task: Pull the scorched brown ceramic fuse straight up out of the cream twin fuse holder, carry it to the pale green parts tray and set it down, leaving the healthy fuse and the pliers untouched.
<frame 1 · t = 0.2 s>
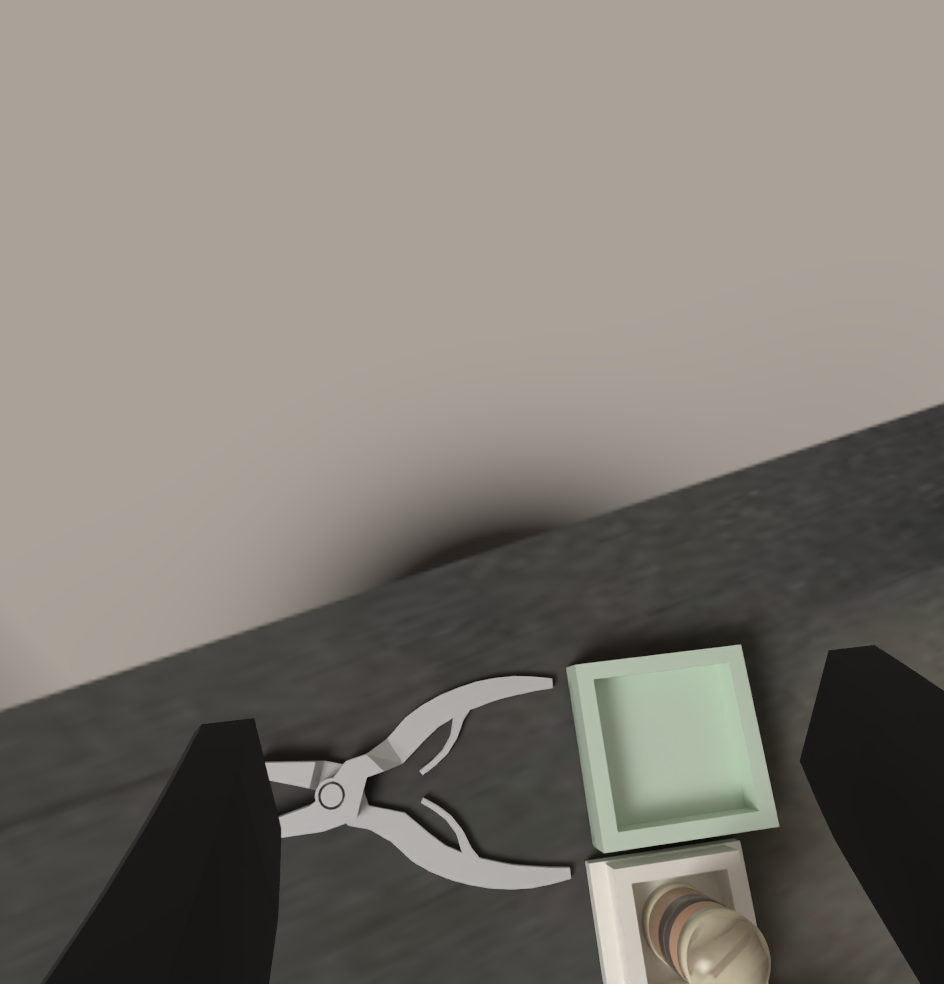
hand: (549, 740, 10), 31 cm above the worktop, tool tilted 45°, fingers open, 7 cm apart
pliers: (409, 786, 39), on the worktop
parts tray: (661, 743, 40), on the worktop
blown fuse: (677, 922, 37), point 1 cm above the worktop, touching fuse holder
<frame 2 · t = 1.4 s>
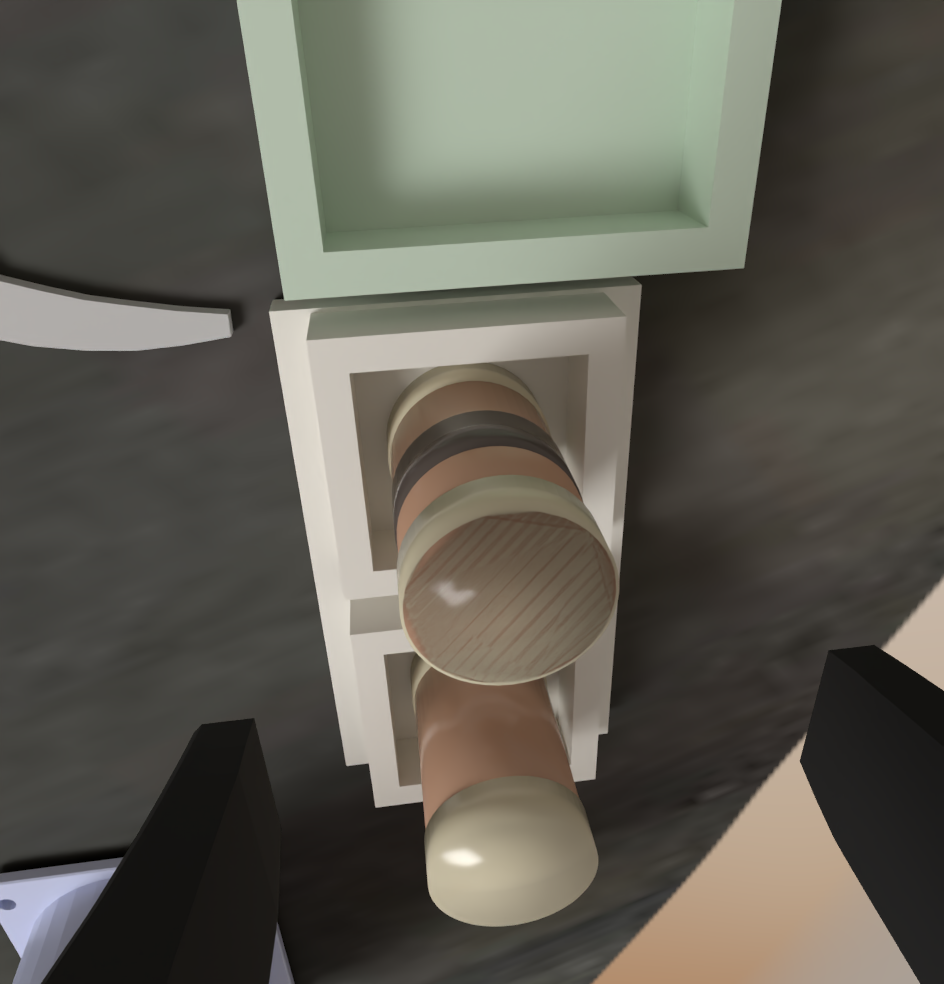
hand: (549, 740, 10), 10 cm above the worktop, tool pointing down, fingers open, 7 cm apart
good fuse: (475, 669, 21), point 1 cm above the worktop, touching fuse holder
fuse holder: (466, 544, 20), on the worktop
parts tray: (497, 13, 14), on the worktop
blown fuse: (465, 435, 17), point 1 cm above the worktop, touching fuse holder
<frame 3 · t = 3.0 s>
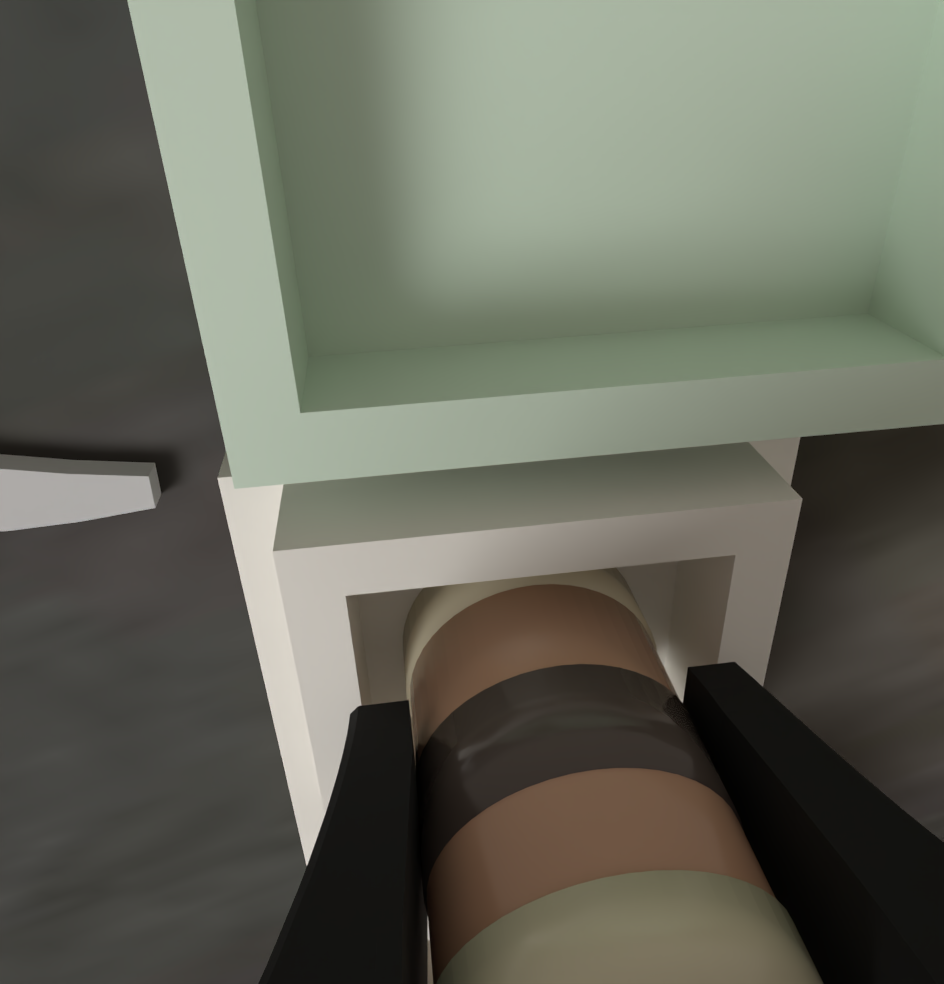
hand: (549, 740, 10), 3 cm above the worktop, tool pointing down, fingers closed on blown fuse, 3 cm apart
fuse holder: (513, 755, 14), on the worktop
blown fuse: (520, 635, 12), point 1 cm above the worktop, touching fuse holder, gripper
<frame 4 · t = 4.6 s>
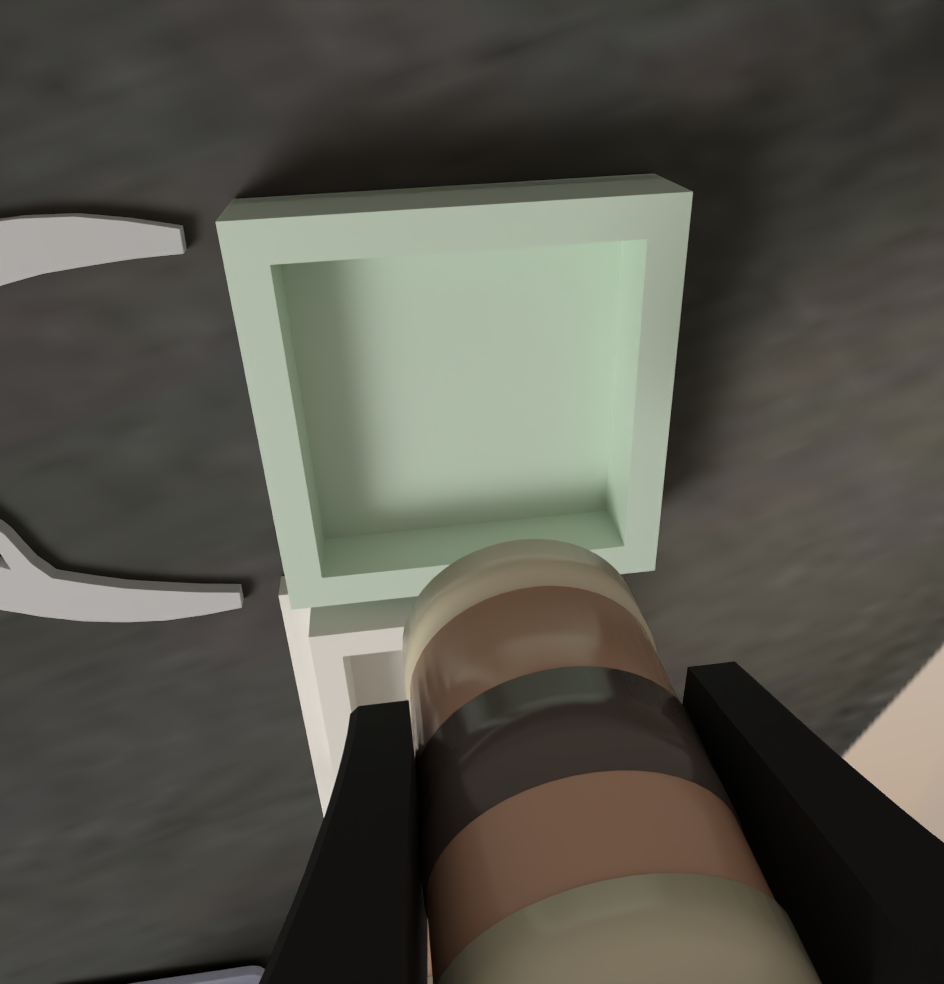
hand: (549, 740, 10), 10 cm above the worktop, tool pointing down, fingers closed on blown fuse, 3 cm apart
fuse holder: (442, 738, 24), on the worktop
parts tray: (458, 383, 18), on the worktop
blown fuse: (520, 637, 12), point 8 cm above the worktop, touching gripper
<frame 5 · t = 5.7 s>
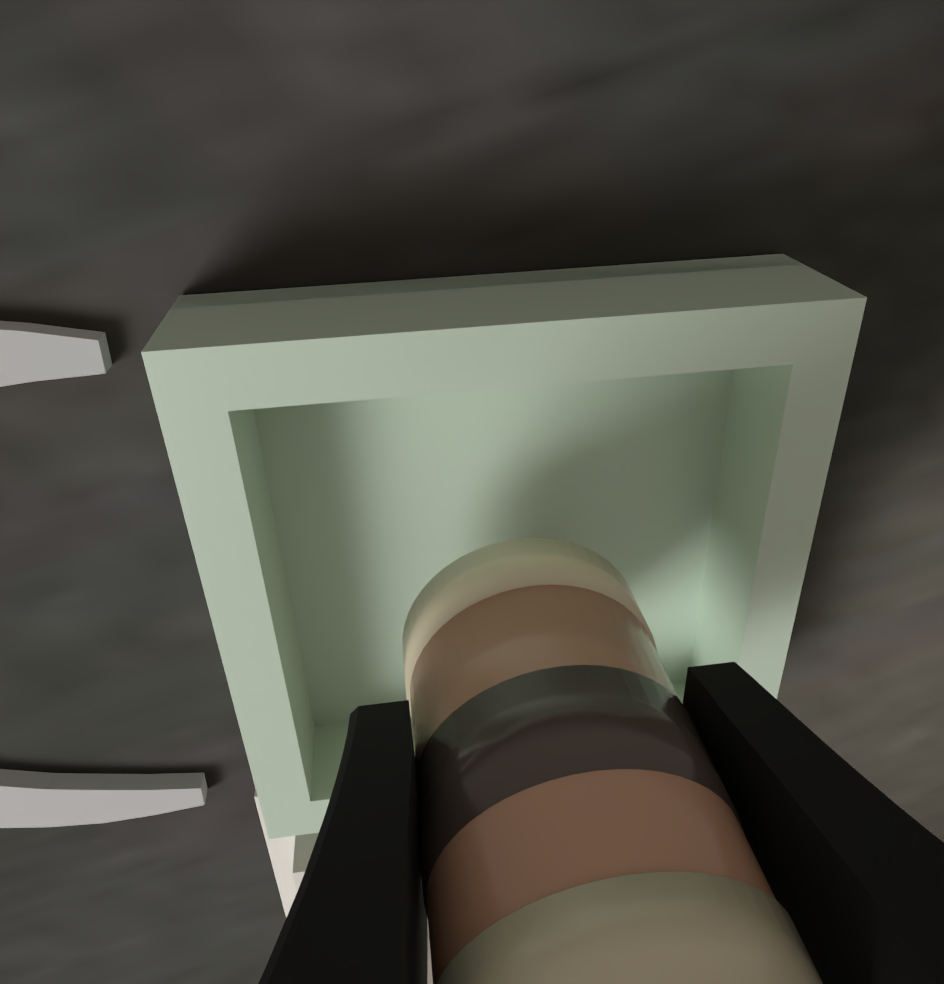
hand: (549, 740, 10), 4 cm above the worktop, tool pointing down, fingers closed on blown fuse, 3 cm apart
fuse holder: (465, 929, 19), on the worktop
parts tray: (497, 528, 13), on the worktop
blown fuse: (520, 636, 12), point 2 cm above the worktop, touching gripper
when the fingers open (4 cm above the worktop, at t = 6.5 s): blown fuse drops 1 cm, resting on parts tray.
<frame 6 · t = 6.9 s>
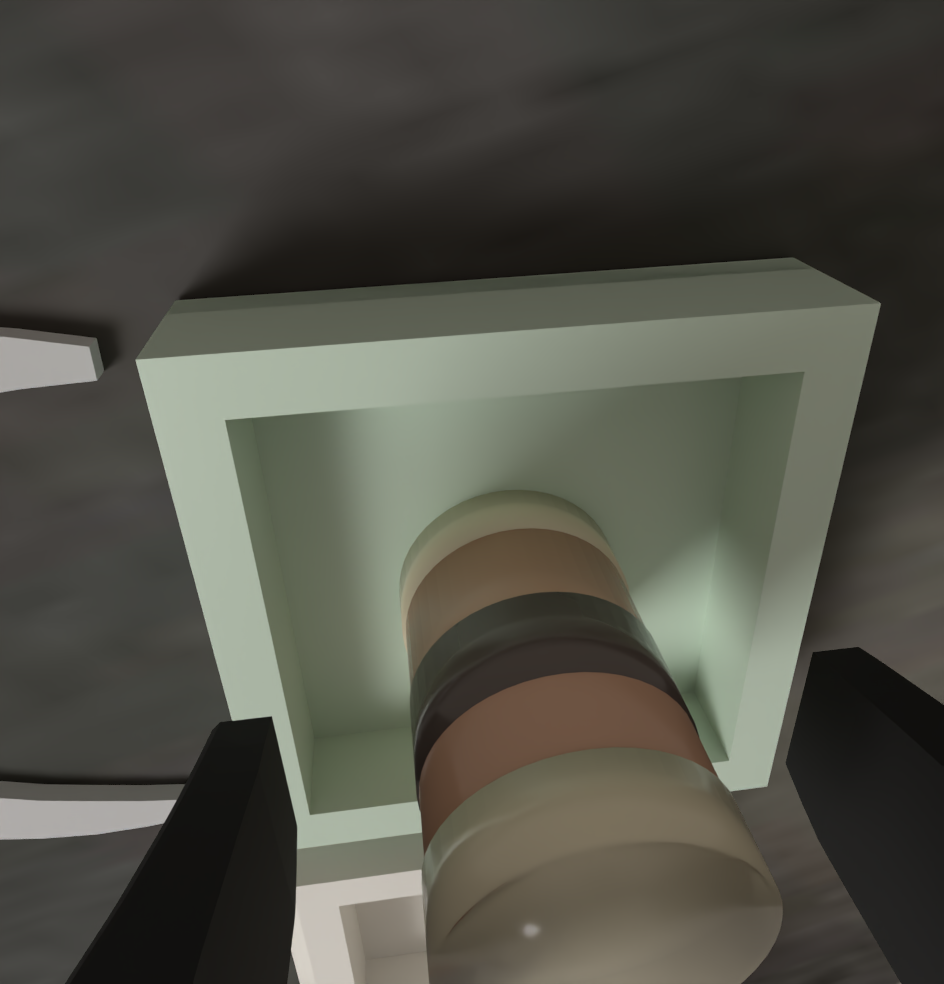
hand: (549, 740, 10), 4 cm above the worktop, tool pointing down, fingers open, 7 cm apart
fuse holder: (466, 939, 19), on the worktop
parts tray: (500, 537, 13), on the worktop
blown fuse: (507, 582, 13), point 1 cm above the worktop, touching parts tray
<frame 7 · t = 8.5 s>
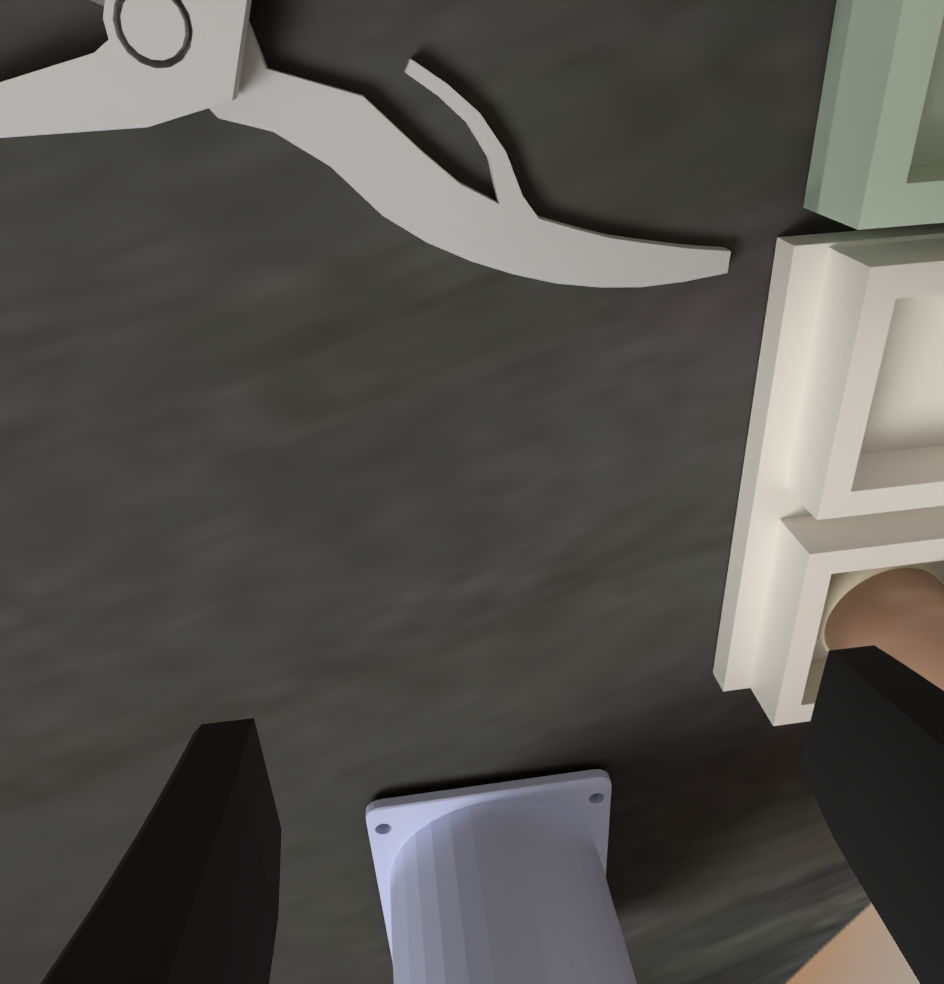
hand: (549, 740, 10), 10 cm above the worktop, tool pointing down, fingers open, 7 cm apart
pliers: (373, 26, 15), on the worktop
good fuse: (864, 595, 22), point 1 cm above the worktop, touching fuse holder
fuse holder: (875, 475, 21), on the worktop
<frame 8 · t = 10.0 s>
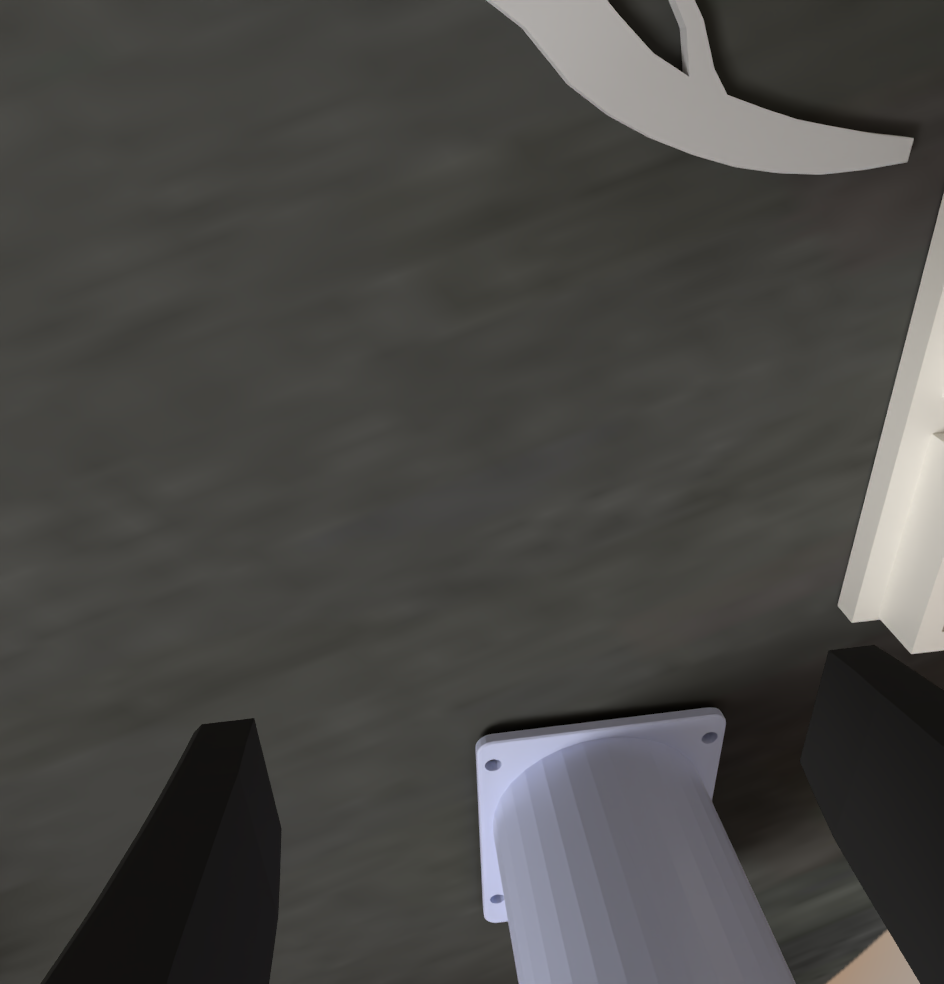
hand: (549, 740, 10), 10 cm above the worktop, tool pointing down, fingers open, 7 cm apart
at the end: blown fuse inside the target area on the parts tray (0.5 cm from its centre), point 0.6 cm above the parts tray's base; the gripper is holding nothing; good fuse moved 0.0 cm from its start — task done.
